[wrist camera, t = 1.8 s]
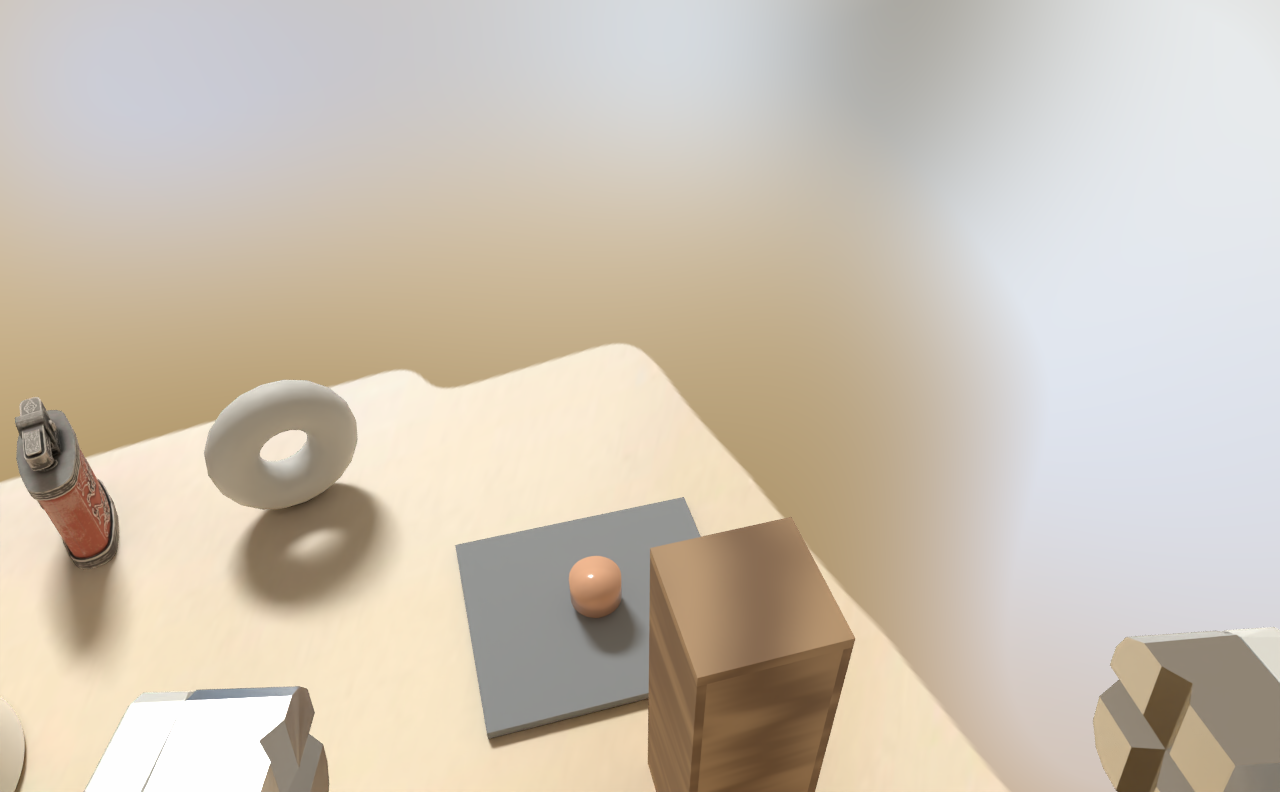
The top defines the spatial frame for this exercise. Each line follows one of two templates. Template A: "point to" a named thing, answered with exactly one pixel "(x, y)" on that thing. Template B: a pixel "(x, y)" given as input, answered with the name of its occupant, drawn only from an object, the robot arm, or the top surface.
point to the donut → (266, 416)
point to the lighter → (65, 484)
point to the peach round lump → (595, 586)
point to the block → (742, 662)
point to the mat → (562, 616)
